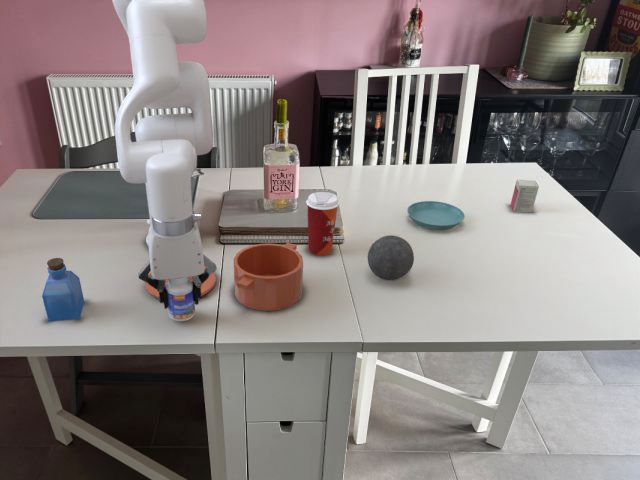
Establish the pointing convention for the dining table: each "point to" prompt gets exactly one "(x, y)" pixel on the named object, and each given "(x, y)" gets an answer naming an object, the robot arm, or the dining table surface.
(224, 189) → the dining table surface
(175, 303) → the pill bottle
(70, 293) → the perfume bottle
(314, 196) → the paper cup
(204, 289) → the lid
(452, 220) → the saucer
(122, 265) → the dining table surface
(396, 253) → the decorative ball
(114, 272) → the dining table surface
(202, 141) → the robot arm
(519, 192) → the small box
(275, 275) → the orange cooking pot
